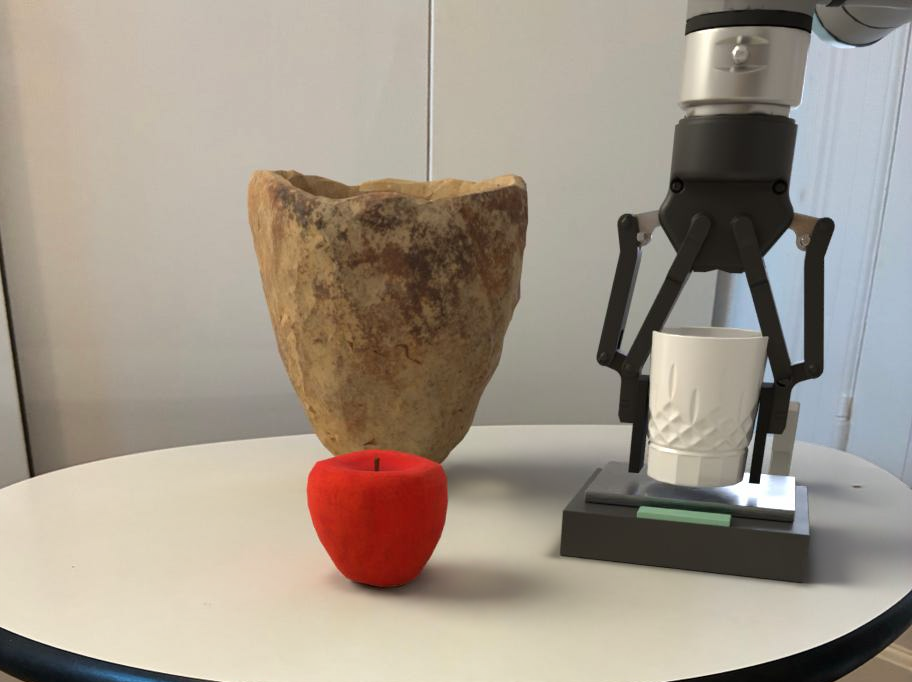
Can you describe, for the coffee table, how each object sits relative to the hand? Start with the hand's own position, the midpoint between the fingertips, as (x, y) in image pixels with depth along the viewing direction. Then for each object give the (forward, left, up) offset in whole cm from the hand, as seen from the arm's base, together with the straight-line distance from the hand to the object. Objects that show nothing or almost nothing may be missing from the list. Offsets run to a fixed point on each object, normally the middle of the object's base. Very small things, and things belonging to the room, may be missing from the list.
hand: (694, 473), depth 73 cm
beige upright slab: (-6, -19, -5) cm, 21 cm away
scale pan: (0, -1, -2) cm, 2 cm away
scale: (0, 0, -5) cm, 5 cm away
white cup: (0, 0, 0) cm, 0 cm away
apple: (+18, +16, -5) cm, 25 cm away
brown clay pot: (+27, -10, -5) cm, 29 cm away
